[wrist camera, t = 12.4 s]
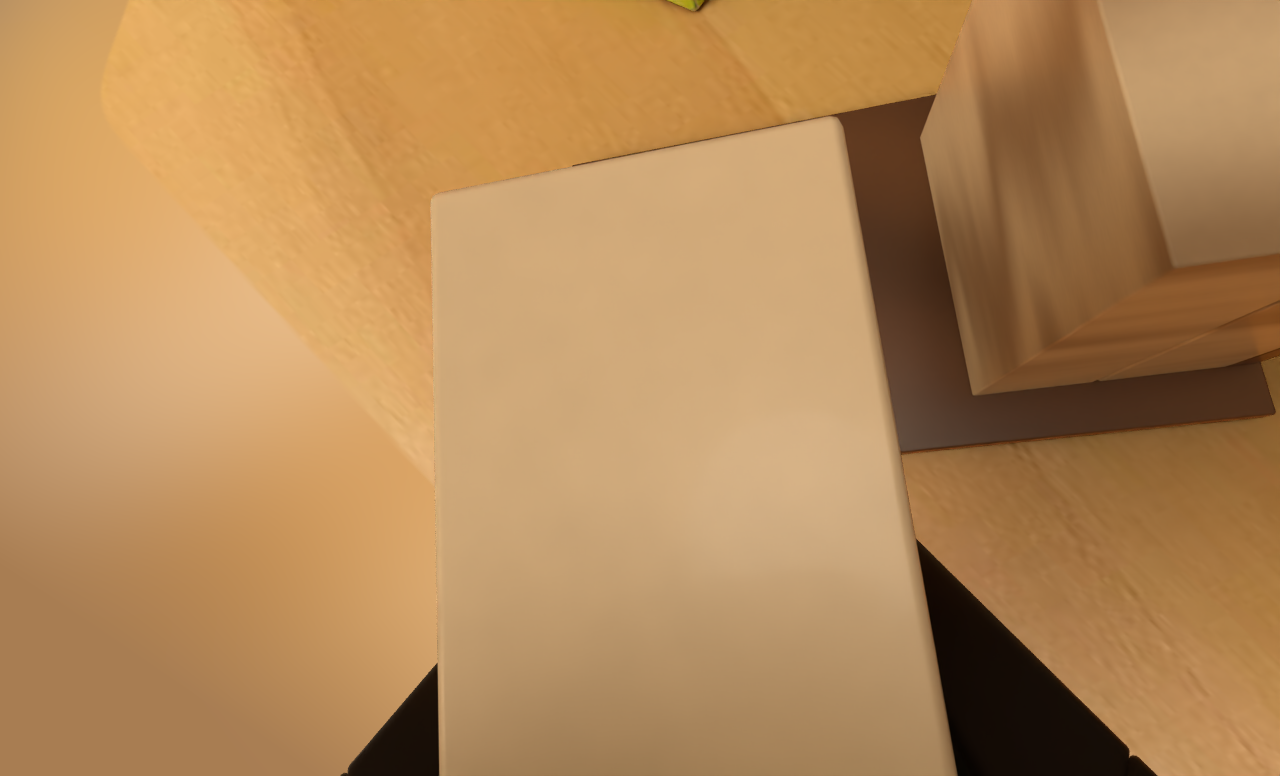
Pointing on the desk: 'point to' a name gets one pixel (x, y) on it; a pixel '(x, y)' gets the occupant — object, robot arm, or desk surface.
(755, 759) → the cream book
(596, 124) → the desk surface
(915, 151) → the book rack
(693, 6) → the box
